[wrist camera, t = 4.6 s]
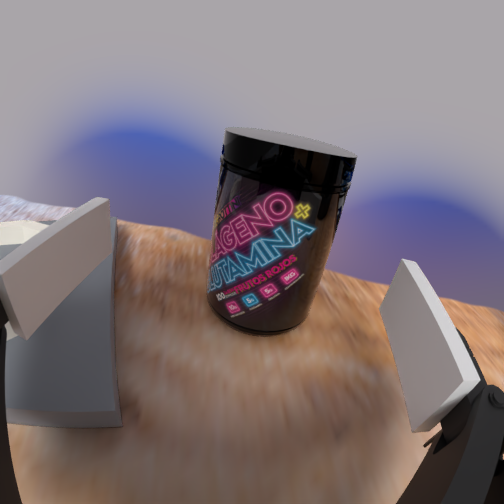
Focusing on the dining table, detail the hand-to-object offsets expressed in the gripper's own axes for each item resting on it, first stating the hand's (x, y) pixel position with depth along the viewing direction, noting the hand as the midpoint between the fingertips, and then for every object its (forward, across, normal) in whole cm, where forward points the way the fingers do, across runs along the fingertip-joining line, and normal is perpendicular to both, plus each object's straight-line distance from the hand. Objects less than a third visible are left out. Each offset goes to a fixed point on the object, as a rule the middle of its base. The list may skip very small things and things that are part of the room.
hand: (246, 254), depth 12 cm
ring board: (-3, -16, -6) cm, 17 cm away
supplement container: (+4, +1, -6) cm, 8 cm away
